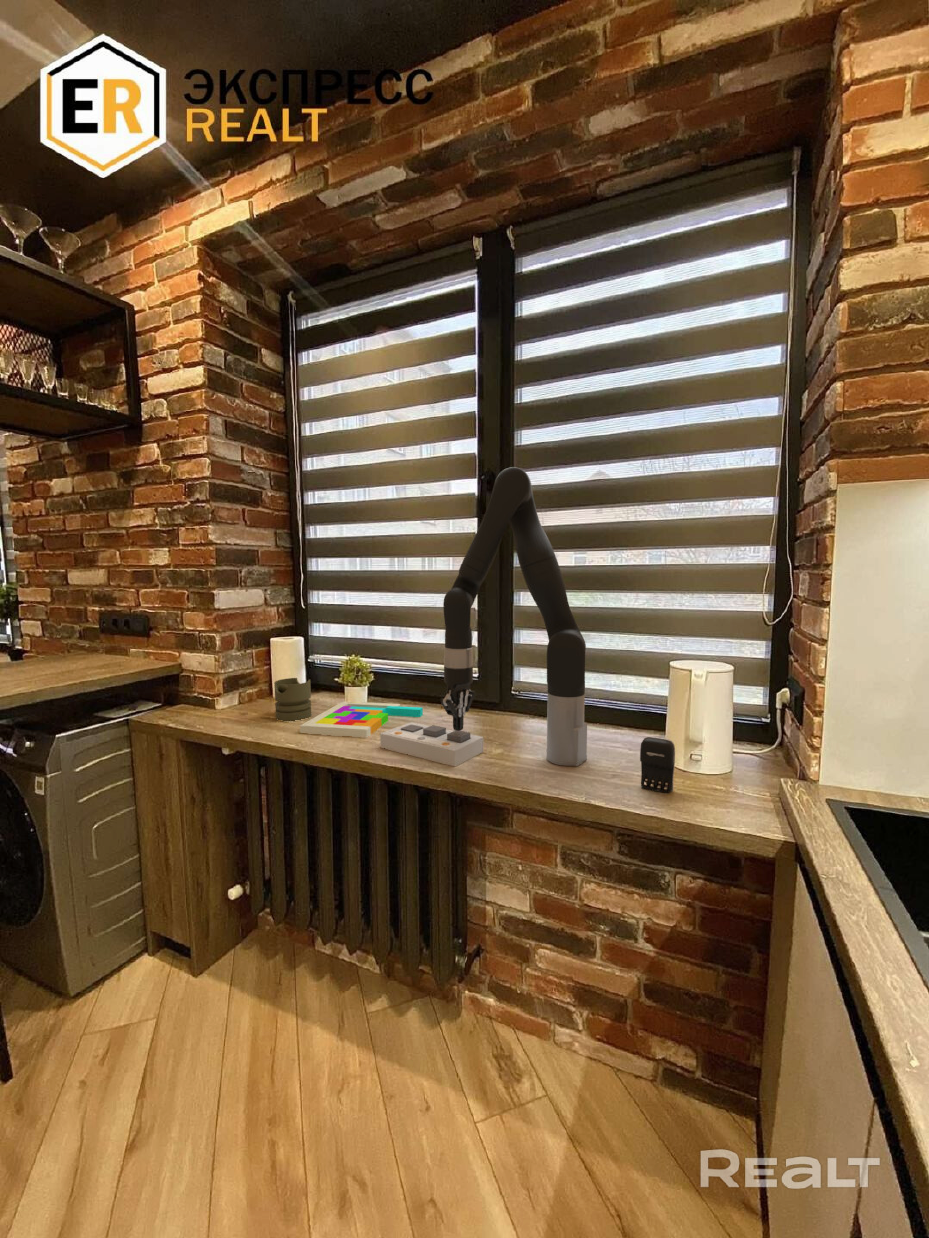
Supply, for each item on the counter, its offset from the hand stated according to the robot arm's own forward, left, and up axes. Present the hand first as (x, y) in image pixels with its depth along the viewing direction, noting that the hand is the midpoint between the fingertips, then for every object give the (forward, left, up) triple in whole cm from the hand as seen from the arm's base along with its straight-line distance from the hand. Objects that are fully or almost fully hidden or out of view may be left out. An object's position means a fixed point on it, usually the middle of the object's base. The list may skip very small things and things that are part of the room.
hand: (458, 729), depth 137 cm
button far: (+16, 0, -5) cm, 17 cm away
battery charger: (-49, -6, -7) cm, 50 cm away
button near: (0, 0, -4) cm, 4 cm away
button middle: (+8, 0, -4) cm, 9 cm away
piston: (+66, +1, -7) cm, 66 cm away
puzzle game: (+41, -8, -7) cm, 42 cm away
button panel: (+8, +1, -7) cm, 10 cm away
